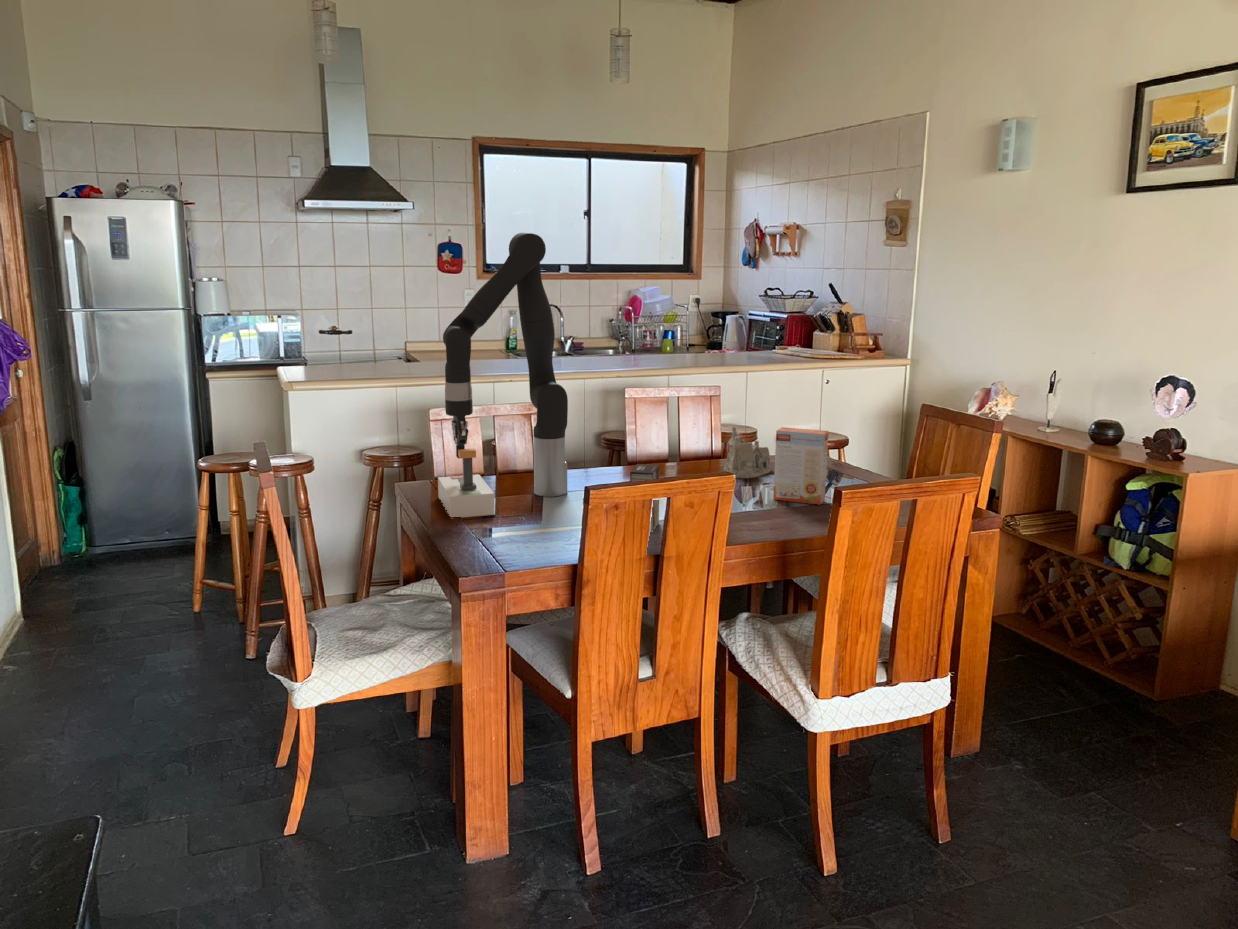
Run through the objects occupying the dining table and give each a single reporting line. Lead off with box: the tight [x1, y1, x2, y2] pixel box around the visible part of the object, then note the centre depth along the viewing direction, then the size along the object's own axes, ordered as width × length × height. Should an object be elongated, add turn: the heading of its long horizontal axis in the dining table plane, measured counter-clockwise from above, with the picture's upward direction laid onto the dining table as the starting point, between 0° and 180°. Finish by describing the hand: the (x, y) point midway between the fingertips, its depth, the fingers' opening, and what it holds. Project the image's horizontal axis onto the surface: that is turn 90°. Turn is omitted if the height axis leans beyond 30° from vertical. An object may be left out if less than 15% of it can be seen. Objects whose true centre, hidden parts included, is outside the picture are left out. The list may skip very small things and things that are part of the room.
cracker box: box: [773, 426, 829, 506], centre depth 267 cm, size 14×6×21 cm, turn 65°
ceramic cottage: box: [723, 426, 771, 479], centre depth 301 cm, size 16×16×15 cm
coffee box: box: [629, 463, 661, 532], centre depth 241 cm, size 9×6×16 cm
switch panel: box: [437, 474, 496, 518], centre depth 260 cm, size 12×22×6 cm, turn 19°
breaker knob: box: [458, 448, 477, 490], centre depth 253 cm, size 4×3×11 cm
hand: (460, 457), depth 264 cm, fingers closed
